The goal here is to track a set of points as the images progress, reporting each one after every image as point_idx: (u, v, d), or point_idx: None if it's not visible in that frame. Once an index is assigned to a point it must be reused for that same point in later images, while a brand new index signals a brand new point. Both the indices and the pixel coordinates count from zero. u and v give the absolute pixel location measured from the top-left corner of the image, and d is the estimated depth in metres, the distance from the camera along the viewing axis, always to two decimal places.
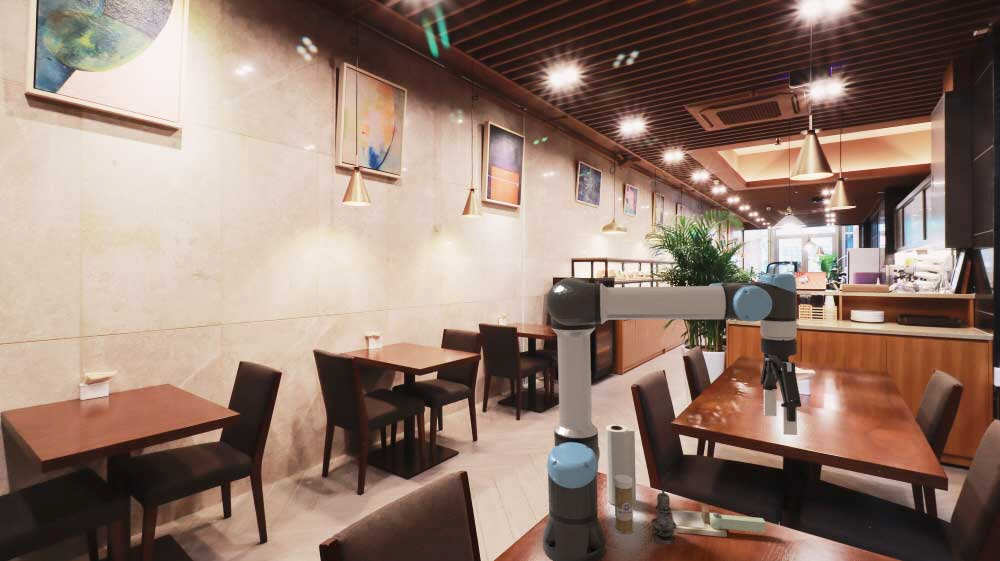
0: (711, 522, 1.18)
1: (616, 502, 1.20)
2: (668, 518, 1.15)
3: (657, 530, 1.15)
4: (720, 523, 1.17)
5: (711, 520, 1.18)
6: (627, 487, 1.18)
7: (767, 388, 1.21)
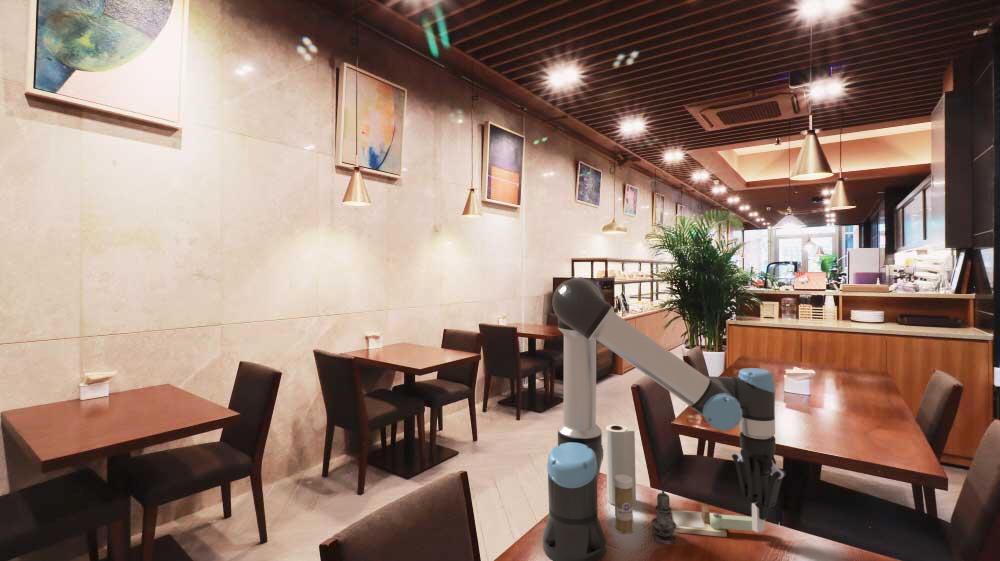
0: (711, 522, 1.18)
1: (616, 502, 1.20)
2: (668, 518, 1.15)
3: (657, 530, 1.15)
4: (720, 523, 1.17)
5: (711, 520, 1.18)
6: (627, 487, 1.18)
7: (754, 501, 1.14)
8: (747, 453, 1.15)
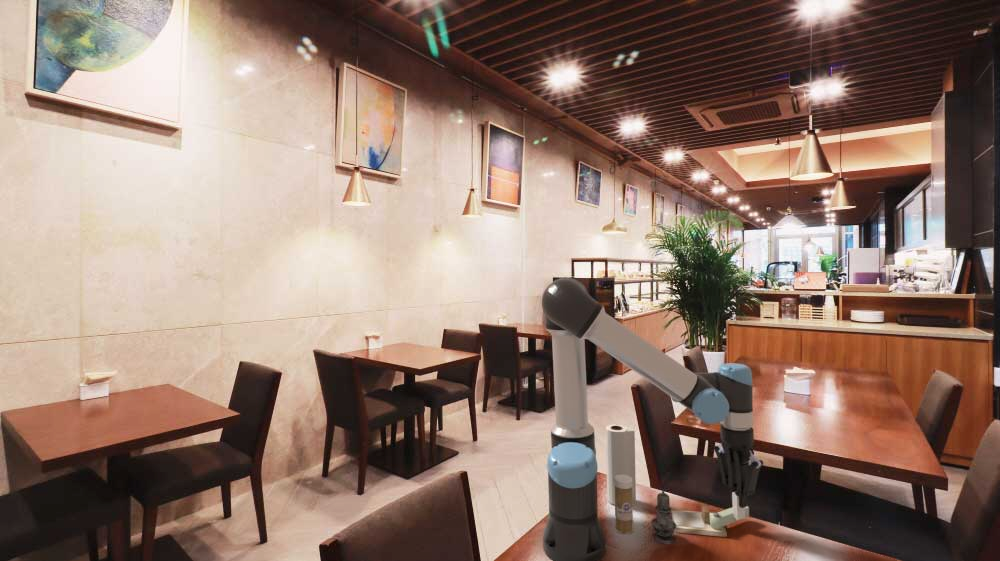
0: (714, 524, 1.17)
1: (616, 502, 1.20)
2: (668, 518, 1.15)
3: (657, 530, 1.15)
4: (722, 522, 1.17)
5: (714, 522, 1.17)
6: (627, 487, 1.18)
7: (734, 490, 1.20)
8: (727, 444, 1.20)
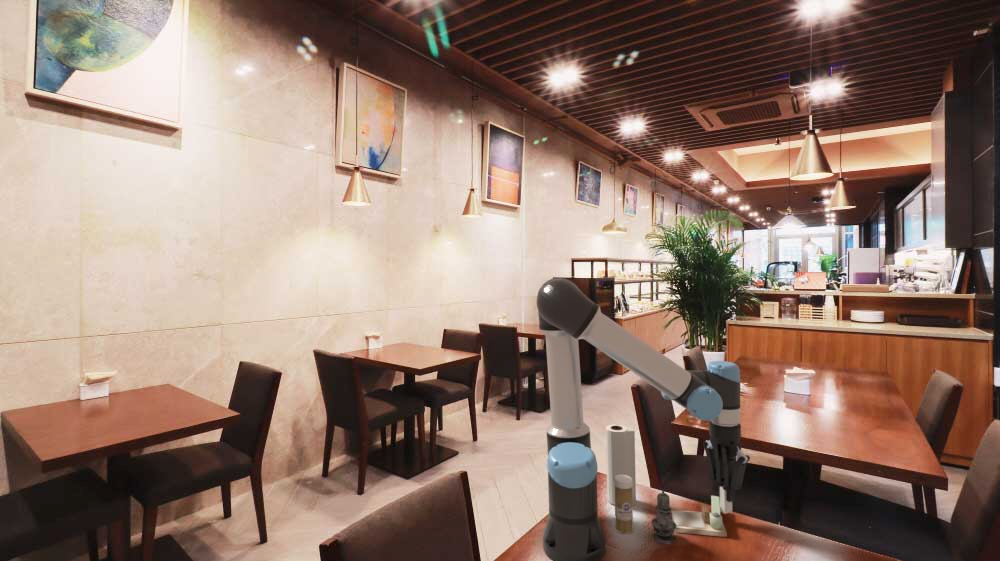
0: (719, 524, 1.17)
1: (616, 502, 1.20)
2: (668, 518, 1.15)
3: (657, 530, 1.15)
4: None
5: (719, 522, 1.17)
6: (627, 487, 1.18)
7: (722, 484, 1.23)
8: (715, 440, 1.23)
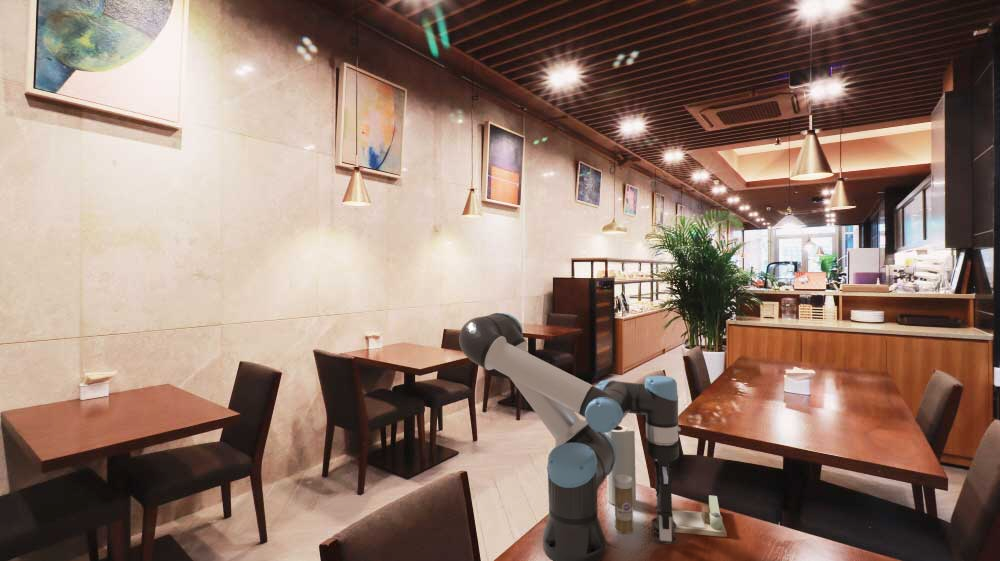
0: (719, 524, 1.17)
1: (616, 502, 1.20)
2: None
3: (657, 530, 1.15)
4: None
5: (719, 522, 1.17)
6: (627, 487, 1.18)
7: None
8: None
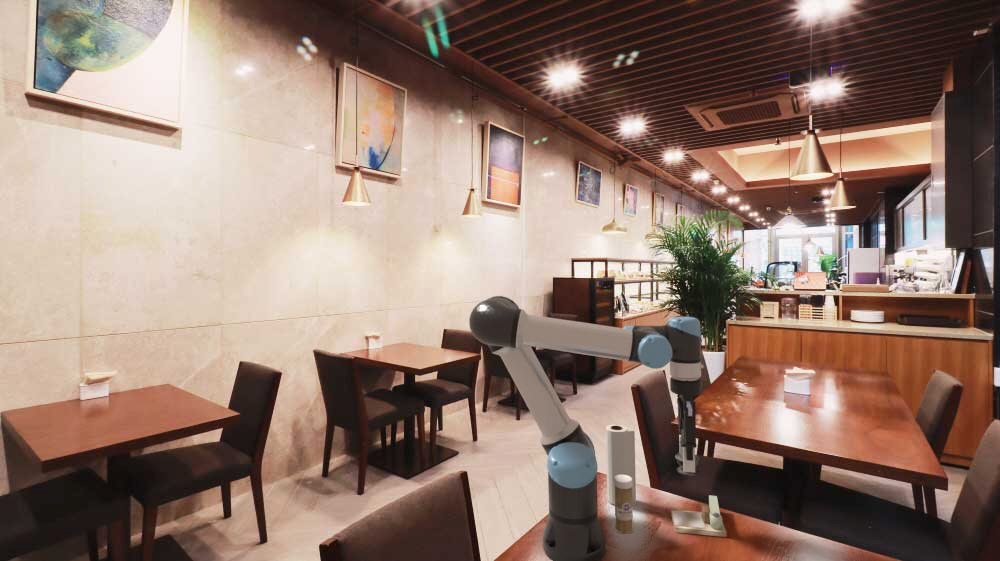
0: (719, 524, 1.17)
1: (616, 502, 1.20)
2: None
3: (681, 463, 1.20)
4: None
5: (719, 522, 1.17)
6: (627, 487, 1.18)
7: None
8: (680, 396, 1.23)
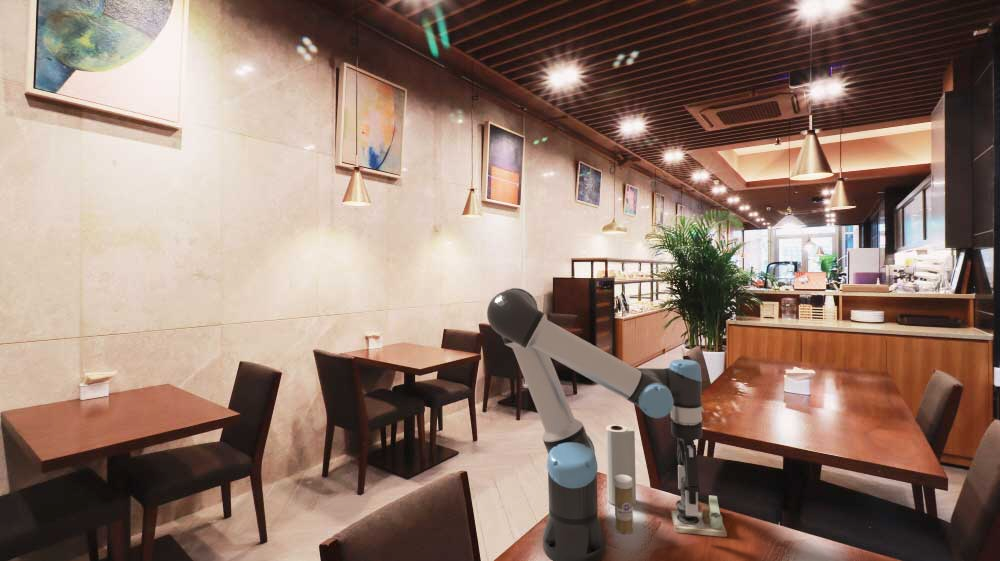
0: (719, 524, 1.17)
1: (616, 502, 1.20)
2: None
3: (681, 511, 1.21)
4: None
5: (719, 522, 1.17)
6: (627, 487, 1.18)
7: (681, 463, 1.29)
8: (681, 441, 1.24)
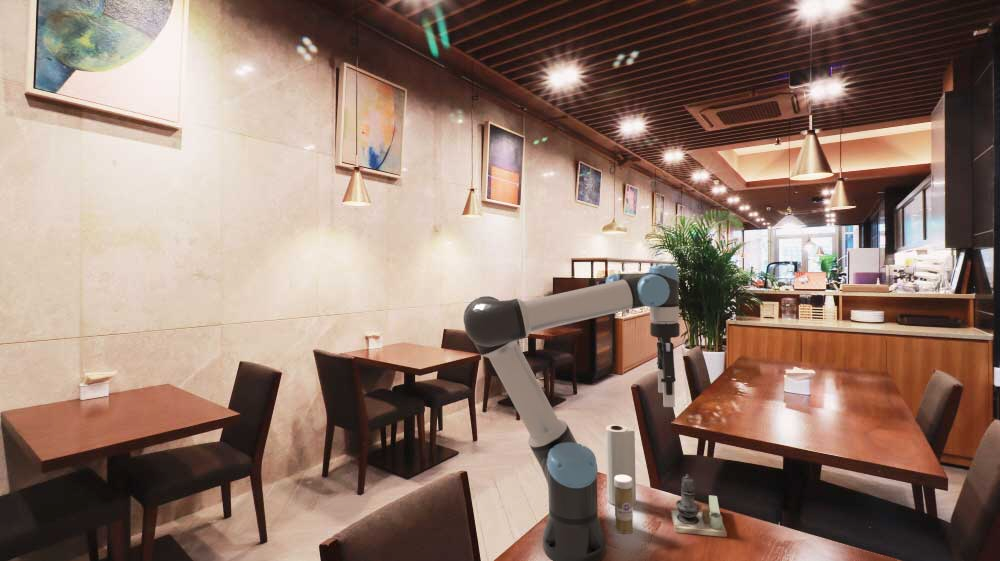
0: (719, 524, 1.17)
1: (616, 502, 1.20)
2: (692, 500, 1.21)
3: (681, 511, 1.21)
4: None
5: (719, 522, 1.17)
6: (627, 487, 1.18)
7: (661, 368, 1.35)
8: None
